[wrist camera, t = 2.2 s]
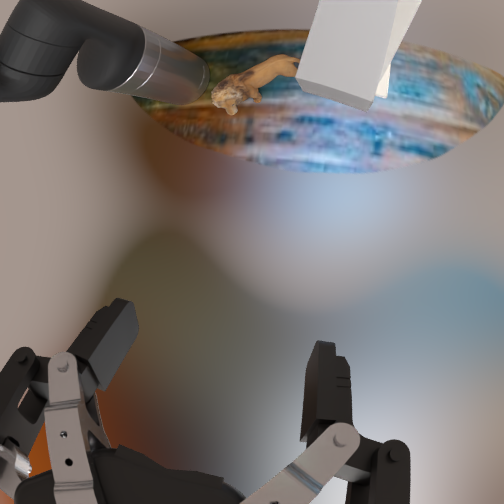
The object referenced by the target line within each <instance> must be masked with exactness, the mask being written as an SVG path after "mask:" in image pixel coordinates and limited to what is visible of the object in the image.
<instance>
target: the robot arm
mask: <svg viewBox="0 0 504 504" xmlns="http://www.w3.org/2000/svg"><path fill="white" fill-rule="evenodd" d="M78 51H79V54H78V59H77V72H78V76H79V79H80V80H81V82H82V83H83V84H84V85H85V86H87V87H89V88H91V89H96V90H103V91H110V92H116V93H123V94H129V95H134V96H139V97H145V98H150V99H154V100H159V101H163V102H168V103H172V104H176V105H185V104H189V103H191V102H193V101H195V100H197V99H198V98H199V97H200V96H201V95H202V94H203V93H204V91H205V90H206V88H207V86H208V83H209V79H210V71H209V67H208V65H207V63H206V62H205V61H204V60H203V59H202V58H200V57H198V56H197V55H195V54H193V53H191V52H190V51H188V50H186V49H185V48H183V47H181V46H179V45H177V44H175V43H174V42H172V41H170V40H168V39H166V38H164V37H162V36H160V35H158V34H156V33H154V32H152V31H150V30H148V29H146V28H143V27H141V26H139V25H137V24H135V23H133V22H130V21H128V20H126V19H123V18H121V17H119V16H116V15H114V14H112V13H109V12H107V11H104V10H102V9H99V8H97V7H95V6H93V5H91V4H88V3H86V2H84V1H82V0H20V1H19V2H18V4H17V5H16V7H15V9H14V10H13V12H12V14H11V15H10V17H9V19H8V21H7V23H6V25H5V27H4V29H3V31H2V33H1V35H0V102H19V101H30V100H36V99H40V98H42V97H45V96H47V95H49V94H50V93H51V92H53V91H54V89H55V88H56V87H57V85H58V84H59V82H60V81H61V79H62V78H63V76H64V74H65V72H66V71H67V69H68V67H69V65H70V64H71V62H72V61H73V59H74V57H75V56H76V54H77V53H78ZM138 330H139V325H138V321H137V316H136V312H135V307H134V304H133V302H131V301H128V300H124V299H120V298H116V299H115V300H114V301H113V302H112V303H111V305H110V306H109V307H107V306H105V307H103V308H102V309H100V310H98V311H97V312H96V313H95V314H94V316H93V317H92V318H91V320H90V322H88V323H87V325H86V326H85V328H84V329H83V330H82V331H81V332H80V334H79V335H78V337H77V338H76V339H75V341H74V342H73V343H72V345H71V346H70V347H69V349H68V350H67V351H66V352H60V353H57V354H55V355H54V356H53V357H52V358H48V357H41V356H36V355H35V353H34V352H33V350H32V349H31V348H29V347H21V348H19V349H17V350H16V351H15V352H14V353H13V354H12V356H11V357H10V359H9V361H8V362H7V363H6V365H5V366H4V368H3V369H2V371H1V372H0V489H1V490H2V491H4V492H5V493H6V494H7V495H8V496H10V497H11V498H12V499H13V500H14V504H309V503H310V502H311V501H312V500H313V499H314V498H315V497H316V496H317V495H318V494H319V493H320V491H321V489H322V488H323V486H324V485H325V484H326V483H327V482H328V481H329V480H330V479H331V478H332V477H333V476H334V477H337V478H340V479H343V480H346V481H348V486H347V494H346V501H345V504H410V451H409V448H408V447H407V445H406V444H405V443H403V442H402V441H400V440H389V441H386V442H385V443H380V442H377V441H374V440H370V439H368V438H365V437H363V436H362V435H360V434H359V433H358V431H357V430H356V429H355V427H354V425H353V422H352V395H351V380H350V378H351V377H350V366H349V364H348V363H347V361H346V359H345V357H342V356H336V347H335V343H332V342H325V341H317V342H316V343H315V346H314V349H313V351H312V354H311V356H310V358H309V361H308V364H307V368H306V374H305V387H304V401H303V413H302V424H301V434H300V442H307V446H306V450H305V451H304V452H303V453H302V454H301V455H300V456H299V457H298V458H296V459H295V460H294V461H293V462H292V463H291V464H289V465H288V466H287V467H285V468H284V469H283V470H282V471H281V472H279V473H278V474H277V475H276V476H275V477H273V478H272V479H271V480H270V481H269V482H267V483H266V484H265V485H264V486H262V487H261V488H260V489H259V490H257V491H256V492H254V493H253V494H252V495H250V496H249V497H248V498H246V497H245V496H244V495H243V494H242V493H241V492H240V491H238V490H237V489H236V488H234V487H232V486H231V485H229V484H227V483H225V482H224V478H223V477H218V476H214V475H209V474H205V473H201V472H198V471H183V470H171V469H166V468H164V467H162V466H161V465H159V464H158V463H156V462H154V461H153V460H151V459H150V458H148V457H146V456H145V455H144V454H142V453H139V452H137V451H134V450H132V449H129V448H127V447H125V446H122V445H120V444H119V446H118V448H117V449H115V448H111V446H110V443H109V440H108V438H107V436H106V434H105V432H104V429H103V426H102V421H101V417H100V412H99V407H98V402H97V396H96V393H95V390H96V389H97V388H98V389H101V390H103V391H106V389H107V387H108V385H109V383H110V382H111V380H112V378H113V376H114V375H115V373H116V371H117V369H118V368H119V366H120V364H121V362H122V361H123V359H124V357H125V356H126V354H127V352H128V350H129V349H130V347H131V345H132V344H133V342H134V340H135V339H136V337H137V334H138ZM27 387H28V388H29V390H28V392H27V394H26V395H25V397H24V399H23V401H22V402H21V404H20V406H19V408H18V403H19V401H20V399H21V398H22V396H23V394H24V392H25V391H26V389H27ZM44 421H45V425H46V434H47V441H48V449H49V454H50V461H51V466H52V469H51V470H48V471H46V472H43V473H41V474H38V475H35V476H32V477H30V478H29V476H28V473H30V472H31V470H32V467H31V465H30V462H29V458H28V455H29V453H30V451H31V448H32V446H33V444H34V442H35V440H36V437H37V435H38V433H39V431H40V429H41V427H42V425H43V423H44Z"/></svg>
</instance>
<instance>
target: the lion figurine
mask: <svg viewBox="0 0 504 504" xmlns="http://www.w3.org/2000/svg"><path fill="white" fill-rule="evenodd" d="M294 62H297V63H300V59H298V58H294V57H289V56H287V55H284V54H280V55H275V56H272V57H270V58H269V59H268V60H266V61H264V62H262V63H260V64H258V65H256V66H253V67H252V68H250V69H248V70H246V71H244V72H243V73H239V74H231V75H230V76H227V78H225V79H224V80H222V81H221V82H219V83H218V84H217V86H216V87H215V88H214V89H213V91H212V100H213V101H212V104H215V105H216V106H217V107H218V108H219V107H222V108H225V109H226V111H227V113H228V114H229V115H234V114H235V113H237V111H238V109H237V105H238V104H239V103H240V102H242V101H244V100H246V99H248V98H249V97H251V98H253V99H254V102H256V103H260V101H261V99H262V96H261V94H260V93H258V88H259V87H261V86H263V85H265V84H267V83H268V82H270V81H271V80H273V79H274V78H275V77H276V76H277V75H283V76H286V77H294V76H296V73H297V70H298V69H297V68H296V67H295V65H294V64H293V63H294Z"/></svg>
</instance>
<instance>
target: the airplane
mask: <svg viewBox="0 0 504 504" xmlns="http://www.w3.org/2000/svg"><path fill="white" fill-rule="evenodd" d="M397 3H398V0H320V1H319V4H318V7H317V11H316V14H315V17H314V20H313V23H312V26H311V29H310V32H309V35H308V38H307V42H306V45H305V48H304V51H303V54H302V57H301V60H300V64H299V67H298V70H297V73H296V76H295V78H296V80H297V81H298V83H299V85H300V87H301V88H302V90H303V91H304V92H307V93H311V94H314V95H318V96H321V97H324V98H327V99H330V100H333V101H336V102H339V103H342V104H345V105H348V106H351V107H354V108H356V109H359V110H362V111H364V112H367V111H368V110H369V108H370V106H371V105H372V103H373V101H374V97H375V94H376V90H377V86H378V83H379V79H380V76H381V72H382V68H383V64H384V60H385V56H386V52H387V48H388V44H389V40H390V36H391V31H392V27H393V22H394V18H395V13H396V8H397Z"/></svg>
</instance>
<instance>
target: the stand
mask: <svg viewBox="0 0 504 504" xmlns="http://www.w3.org/2000/svg"><path fill="white" fill-rule="evenodd" d="M421 1H422V0H398V3H397V8H396V13H395V18H394V22H393V27H392V31H391V36H390V40H389V44H388V48H387V52H386V56H385V60H384V64H383V68H382V72H381V76H380V79H379V83H378V86H377V90H376V94H375V96H378V97H381V98H385V99H386V98H387V92H388V84H389V76H390V66H391V63H390V62H391V60H392V58H393V57H394V55H395V53H396V51H397V49H398V47H399V45H400V43H401V41H402V39H403V37H404V35H405V33H406V31H407V29H408V27H409V25H410V23H411V21H412V19H413V17H414V15H415V13H416V11H417V9H418V7H419V5H420V3H421Z"/></svg>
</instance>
